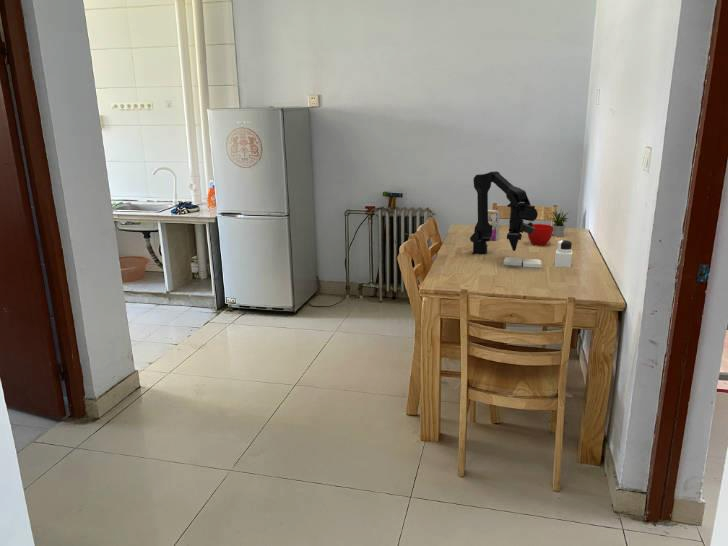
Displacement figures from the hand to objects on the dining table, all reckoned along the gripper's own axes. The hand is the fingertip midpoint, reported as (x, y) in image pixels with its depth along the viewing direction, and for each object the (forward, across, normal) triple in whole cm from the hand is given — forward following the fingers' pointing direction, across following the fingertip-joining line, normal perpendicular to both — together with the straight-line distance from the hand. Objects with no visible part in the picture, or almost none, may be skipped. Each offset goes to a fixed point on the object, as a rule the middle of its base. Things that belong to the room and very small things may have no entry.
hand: (514, 250), depth 267 cm
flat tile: (+6, -2, -8) cm, 11 cm away
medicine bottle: (+7, +2, -22) cm, 23 cm away
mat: (+6, 0, -4) cm, 8 cm away
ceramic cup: (+7, +46, -11) cm, 48 cm away
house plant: (+7, +70, -18) cm, 73 cm away
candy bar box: (+7, +50, +18) cm, 54 cm away
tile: (+5, +2, 0) cm, 5 cm away
